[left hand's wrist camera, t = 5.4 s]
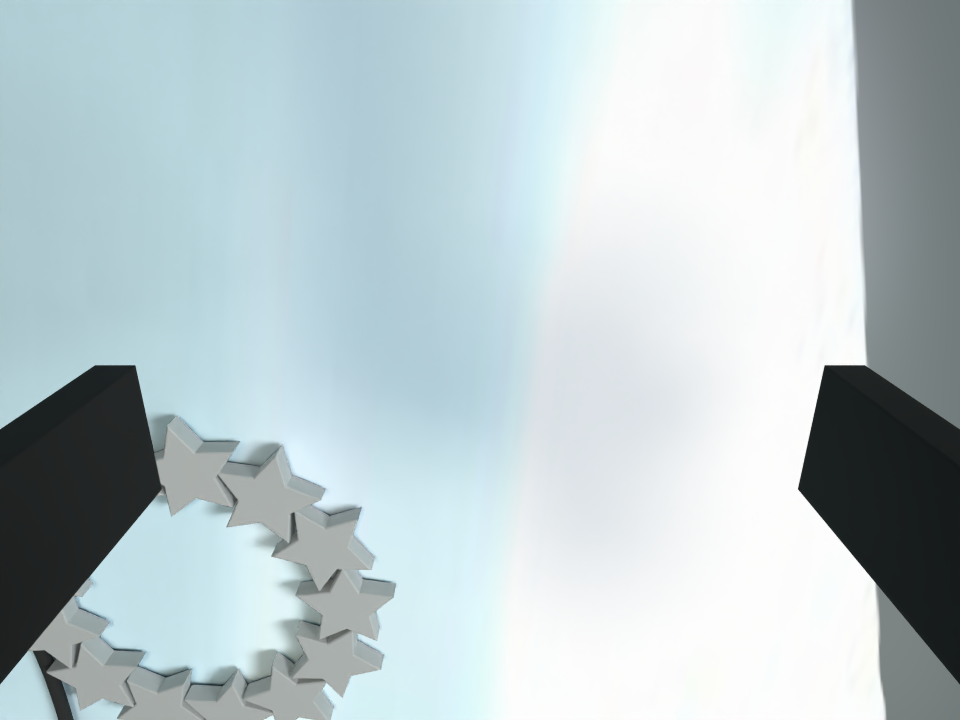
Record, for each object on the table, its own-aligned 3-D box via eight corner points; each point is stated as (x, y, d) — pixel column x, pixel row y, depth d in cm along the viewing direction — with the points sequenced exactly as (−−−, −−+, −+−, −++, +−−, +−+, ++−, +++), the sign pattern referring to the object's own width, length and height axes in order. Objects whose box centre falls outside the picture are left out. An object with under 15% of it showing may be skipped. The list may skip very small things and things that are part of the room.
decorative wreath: (-69, 437, 44) (76, 744, 55) (-88, 449, 42) (65, 761, 54) (361, 398, 43) (421, 718, 54) (357, 408, 41) (419, 736, 52)
